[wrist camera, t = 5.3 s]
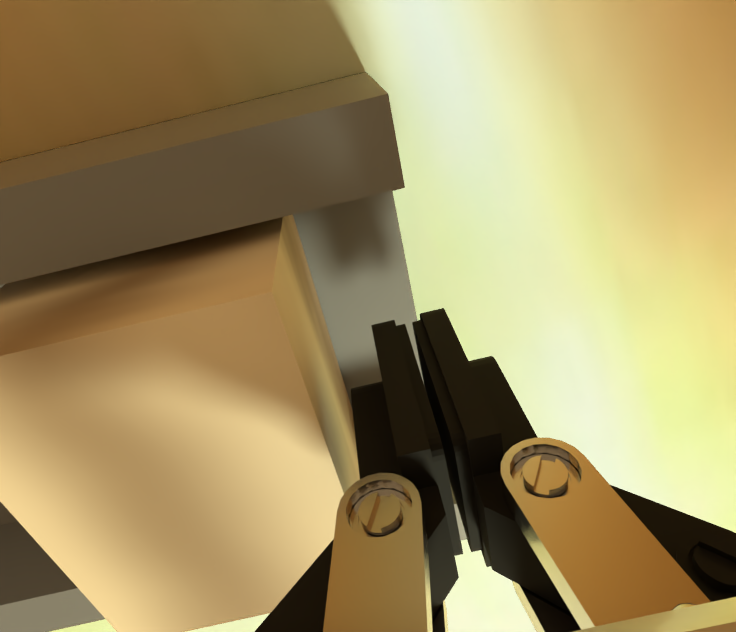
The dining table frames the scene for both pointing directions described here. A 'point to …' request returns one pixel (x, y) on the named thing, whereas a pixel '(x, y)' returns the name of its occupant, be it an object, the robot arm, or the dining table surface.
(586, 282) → the dining table surface
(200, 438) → the block
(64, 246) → the chute
